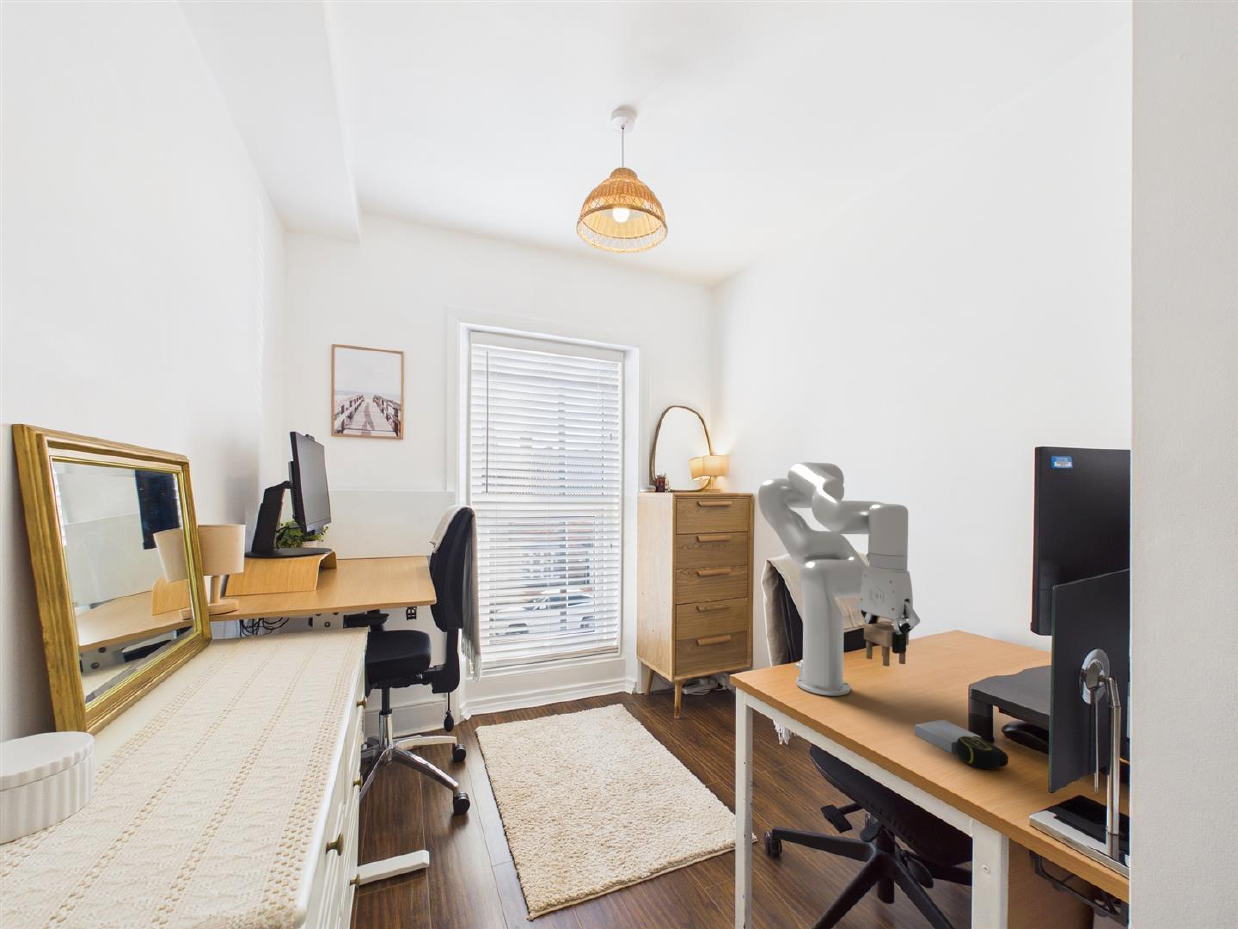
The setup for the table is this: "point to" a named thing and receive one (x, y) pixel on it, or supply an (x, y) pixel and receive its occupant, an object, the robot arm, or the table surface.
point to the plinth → (942, 734)
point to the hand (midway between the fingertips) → (885, 646)
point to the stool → (881, 640)
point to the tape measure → (980, 752)
